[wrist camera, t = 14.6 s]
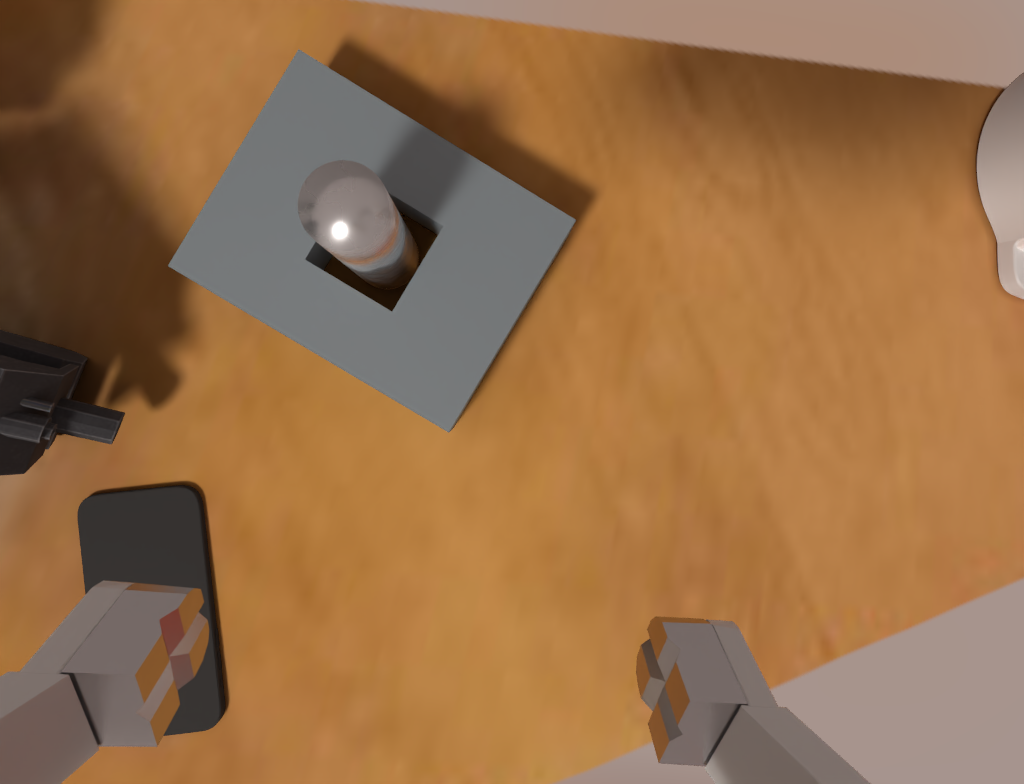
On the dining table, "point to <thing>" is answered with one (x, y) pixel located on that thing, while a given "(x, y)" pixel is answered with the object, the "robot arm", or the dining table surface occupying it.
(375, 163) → the socket plate
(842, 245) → the dining table surface
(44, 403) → the tool
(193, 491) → the phone
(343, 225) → the steel pin
